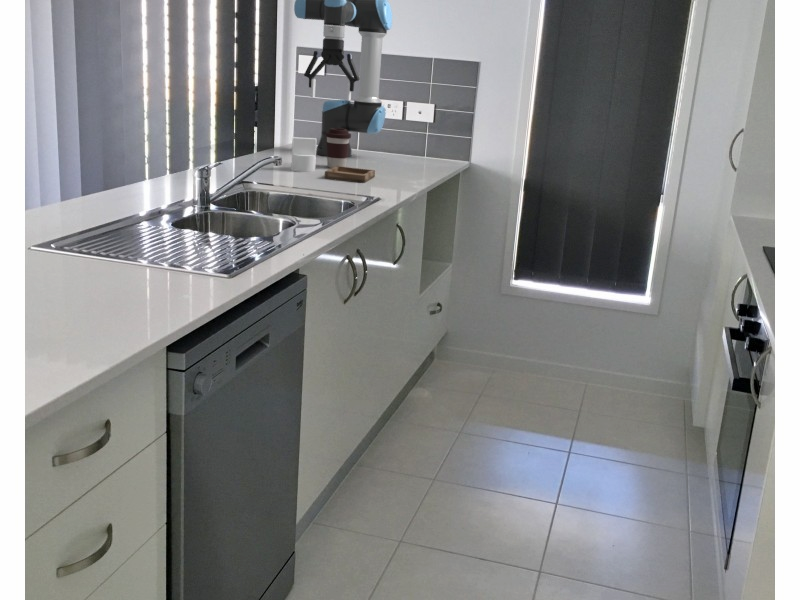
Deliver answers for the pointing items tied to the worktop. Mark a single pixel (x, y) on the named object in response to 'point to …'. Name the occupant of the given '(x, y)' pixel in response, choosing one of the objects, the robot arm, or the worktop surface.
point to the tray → (350, 174)
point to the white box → (303, 154)
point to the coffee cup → (337, 147)
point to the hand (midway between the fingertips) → (330, 98)
